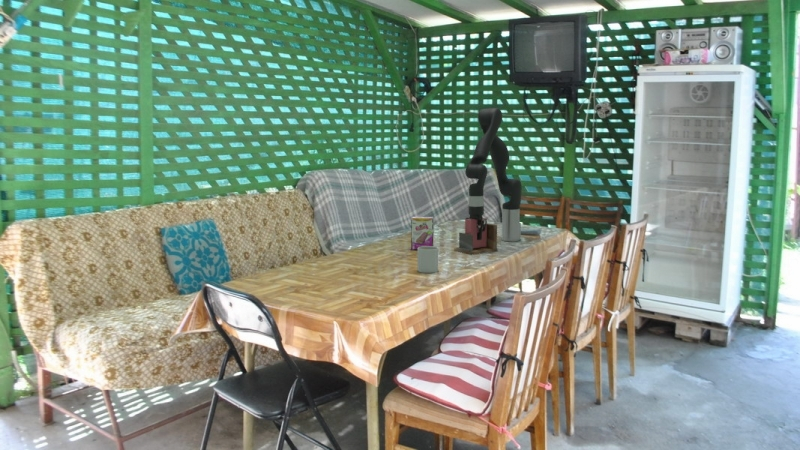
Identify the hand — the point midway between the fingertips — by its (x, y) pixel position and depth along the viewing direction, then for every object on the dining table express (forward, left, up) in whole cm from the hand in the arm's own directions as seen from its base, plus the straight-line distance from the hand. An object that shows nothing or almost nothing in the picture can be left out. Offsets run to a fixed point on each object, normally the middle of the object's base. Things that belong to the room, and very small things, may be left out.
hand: (475, 239), depth 332 cm
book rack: (0, 0, -6) cm, 6 cm away
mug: (+45, +24, -6) cm, 52 cm away
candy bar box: (+19, -19, -6) cm, 28 cm away
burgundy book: (0, 0, -4) cm, 4 cm away
